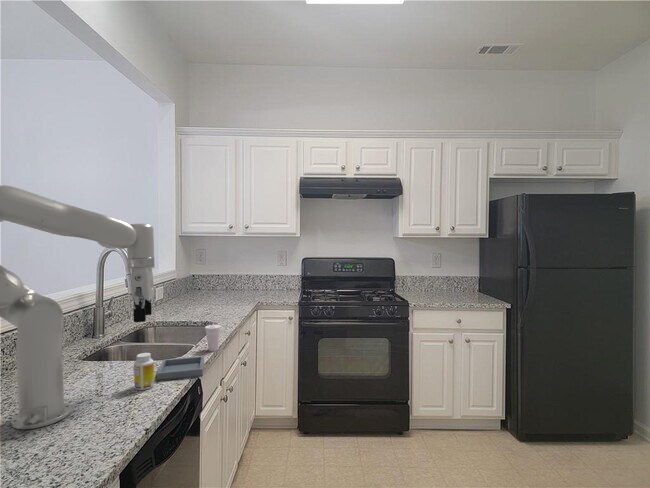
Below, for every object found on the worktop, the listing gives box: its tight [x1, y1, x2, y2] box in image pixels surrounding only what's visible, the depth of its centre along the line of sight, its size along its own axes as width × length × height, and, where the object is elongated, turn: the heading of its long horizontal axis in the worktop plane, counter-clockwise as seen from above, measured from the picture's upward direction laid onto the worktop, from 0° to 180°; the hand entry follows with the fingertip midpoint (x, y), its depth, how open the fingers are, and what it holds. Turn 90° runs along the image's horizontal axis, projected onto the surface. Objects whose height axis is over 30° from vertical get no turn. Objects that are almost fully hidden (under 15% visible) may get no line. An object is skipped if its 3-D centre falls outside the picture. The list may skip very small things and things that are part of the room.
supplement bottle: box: [133, 352, 155, 391], centre depth 119 cm, size 6×6×10 cm
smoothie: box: [204, 315, 222, 352], centre depth 156 cm, size 6×6×14 cm
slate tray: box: [156, 355, 205, 382], centre depth 133 cm, size 14×14×2 cm
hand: (143, 318), depth 120 cm, fingers open, 9 cm apart
